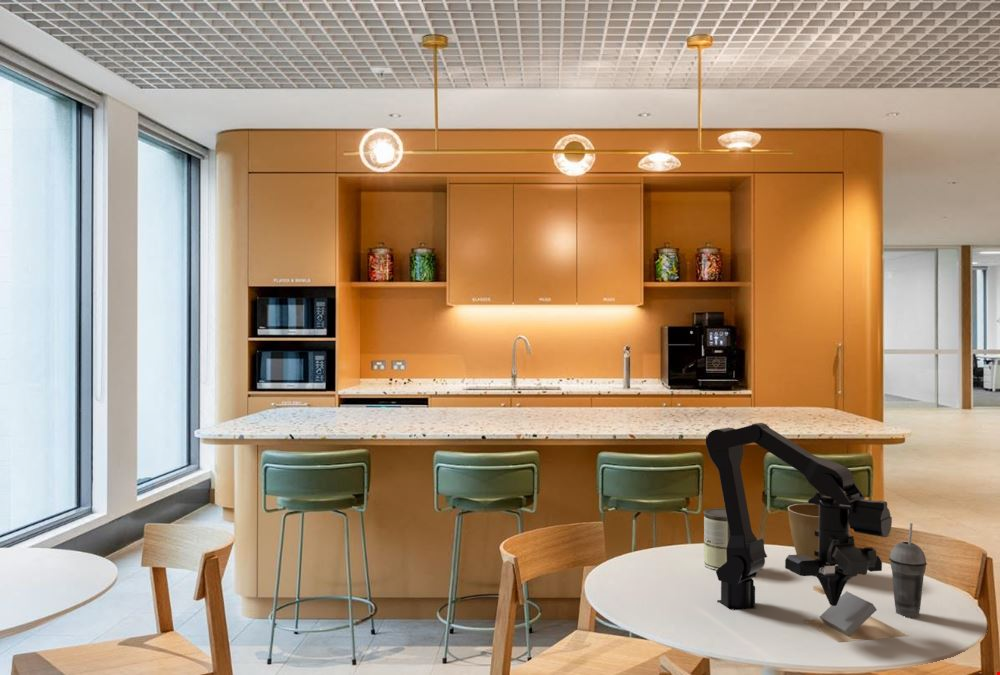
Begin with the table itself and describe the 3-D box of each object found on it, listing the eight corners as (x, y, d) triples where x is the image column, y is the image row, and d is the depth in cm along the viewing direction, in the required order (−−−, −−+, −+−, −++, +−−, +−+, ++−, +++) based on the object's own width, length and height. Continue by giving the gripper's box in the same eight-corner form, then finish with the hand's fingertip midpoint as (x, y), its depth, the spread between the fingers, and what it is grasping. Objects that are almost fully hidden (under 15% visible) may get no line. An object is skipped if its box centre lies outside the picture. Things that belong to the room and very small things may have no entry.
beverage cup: (914, 608, 176) (915, 518, 176) (933, 620, 168) (934, 526, 168) (882, 608, 175) (883, 518, 175) (899, 620, 168) (900, 526, 168)
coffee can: (710, 558, 214) (710, 506, 214) (748, 564, 208) (749, 511, 208) (697, 567, 205) (698, 513, 205) (737, 574, 200) (738, 518, 200)
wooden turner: (872, 612, 173) (872, 607, 173) (852, 613, 172) (852, 609, 172) (825, 589, 189) (825, 585, 189) (807, 590, 188) (807, 586, 188)
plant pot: (776, 571, 203) (776, 509, 202) (804, 560, 213) (804, 501, 212) (833, 585, 192) (834, 519, 191) (860, 573, 202) (860, 510, 201)
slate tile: (844, 630, 157) (872, 603, 158) (819, 616, 164) (846, 591, 166) (849, 637, 157) (877, 610, 158) (823, 622, 165) (850, 597, 166)
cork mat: (838, 645, 154) (838, 642, 154) (801, 623, 166) (801, 620, 166) (908, 638, 158) (908, 635, 158) (867, 617, 170) (867, 614, 170)
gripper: (817, 540, 151) (817, 622, 151) (901, 535, 155) (901, 615, 155) (783, 526, 161) (783, 603, 161) (863, 522, 166) (863, 597, 166)
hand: (833, 605), depth 161 cm, fingers closed
